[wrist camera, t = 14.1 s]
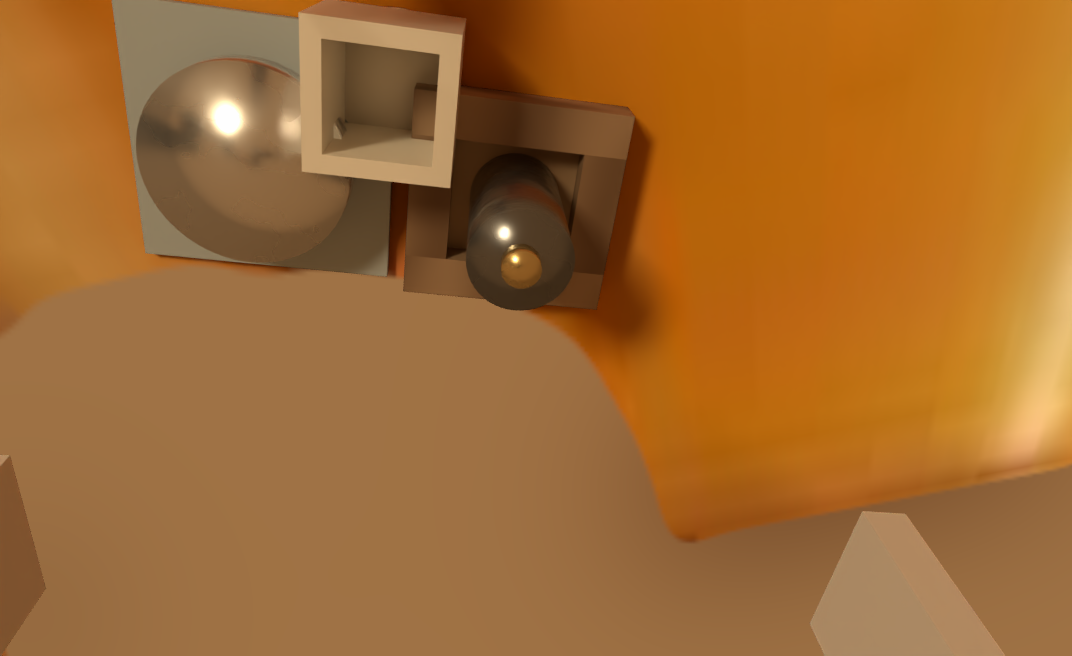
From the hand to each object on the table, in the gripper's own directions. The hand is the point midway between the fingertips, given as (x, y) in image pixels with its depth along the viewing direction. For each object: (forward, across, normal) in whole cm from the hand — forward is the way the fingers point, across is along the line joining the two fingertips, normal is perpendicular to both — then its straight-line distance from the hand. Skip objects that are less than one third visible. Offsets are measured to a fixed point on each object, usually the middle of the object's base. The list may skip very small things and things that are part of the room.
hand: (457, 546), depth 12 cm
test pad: (+25, -10, -2) cm, 27 cm away
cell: (+26, +2, -3) cm, 26 cm away
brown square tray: (+27, +2, -3) cm, 27 cm away
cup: (+27, -4, +2) cm, 27 cm away
